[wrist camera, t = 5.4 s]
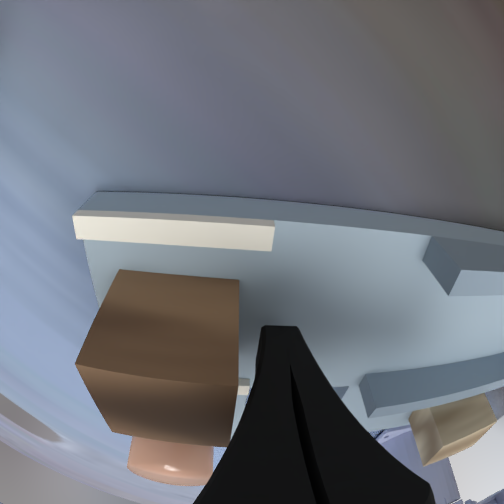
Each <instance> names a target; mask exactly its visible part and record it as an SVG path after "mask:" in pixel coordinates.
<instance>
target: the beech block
mask: <svg viewBox="0 0 504 504" xmlns="http://www.w3.org/2000/svg"><path fill="white" fill-rule="evenodd" d="M408 420H409V423H410V426H411V429H412V432H413V435H414V438H415V441H416V445H417V448H418V451H419V454H420V458H421V461H422V465H423V467H424V466H427V465H429V464H432V463H435V462H437V461H440V460H442V459H444V458H447V457H449V456H452V455H454V454H456V453H458V452H460V451H463V450H465V449H467V448H469V447H471V446H473V445H474V444H475V443H476V442H477V441H478V440H479V439H480V438H481V437H482V436H483V435H484V434H485V433H486V432H487V431H488V430H489V429H490V428H491V427H492V426H493V425H494V424H495V423H496V422H497V419H496V417H495V415H494V413H493V410H492V408H491V406H490V404H489V402H488V400H487V398H486V396H485V393H482V394H478V395H475V396H472V397H468V398H465V399H461V400H458V401H454V402H450V403H446V404H442V405H438V406H434V407H429V408H425V409H420V410H415V411H413V412H412V413H411V415H410V417H409V419H408Z"/></svg>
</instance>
